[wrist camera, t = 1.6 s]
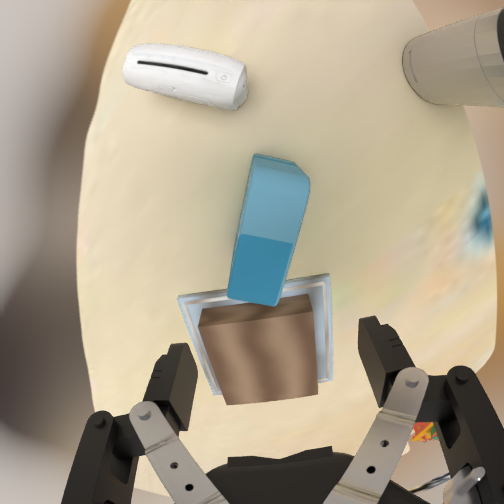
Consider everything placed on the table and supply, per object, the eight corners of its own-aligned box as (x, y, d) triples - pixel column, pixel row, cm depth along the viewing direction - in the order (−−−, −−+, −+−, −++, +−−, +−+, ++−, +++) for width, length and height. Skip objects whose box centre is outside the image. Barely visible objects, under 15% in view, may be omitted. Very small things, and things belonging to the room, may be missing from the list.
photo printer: (253, 79, 29) (253, 54, 18) (242, 114, 31) (235, 109, 19) (165, 60, 28) (121, 33, 16) (154, 94, 29) (105, 84, 18)
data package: (253, 152, 32) (253, 167, 21) (293, 160, 33) (313, 180, 22) (233, 249, 37) (225, 305, 26) (269, 256, 37) (275, 314, 26)
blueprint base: (328, 273, 38) (337, 293, 34) (331, 376, 46) (337, 398, 42) (178, 295, 40) (169, 316, 35) (214, 391, 48) (211, 413, 43)
